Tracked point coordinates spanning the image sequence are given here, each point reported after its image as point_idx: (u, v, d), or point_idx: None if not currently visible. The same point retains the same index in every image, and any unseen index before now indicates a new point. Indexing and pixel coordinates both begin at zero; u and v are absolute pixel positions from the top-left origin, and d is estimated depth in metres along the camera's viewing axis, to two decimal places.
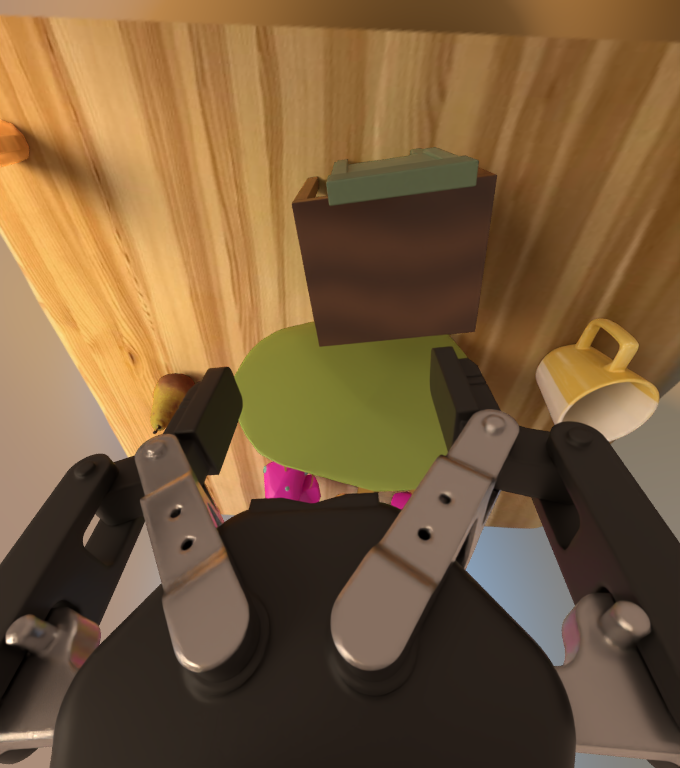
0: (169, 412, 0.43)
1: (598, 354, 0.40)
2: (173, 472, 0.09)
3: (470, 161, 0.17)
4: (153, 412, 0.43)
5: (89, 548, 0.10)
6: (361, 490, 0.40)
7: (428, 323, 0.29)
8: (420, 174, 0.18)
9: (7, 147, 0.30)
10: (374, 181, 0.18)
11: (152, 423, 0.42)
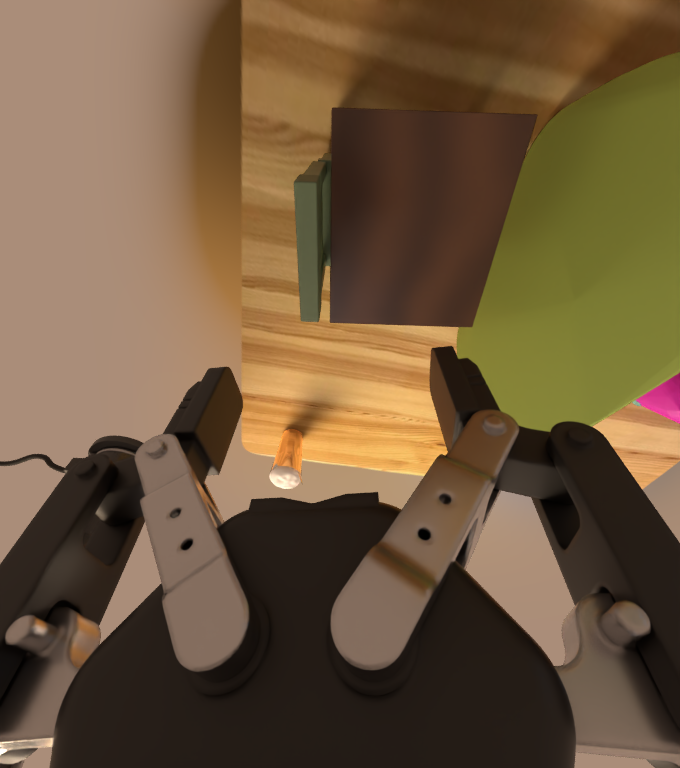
0: None
1: None
2: (173, 472, 0.09)
3: (294, 190, 0.17)
4: None
5: (89, 548, 0.10)
6: None
7: (493, 194, 0.22)
8: (301, 242, 0.19)
9: (293, 441, 0.51)
10: (303, 284, 0.20)
11: None
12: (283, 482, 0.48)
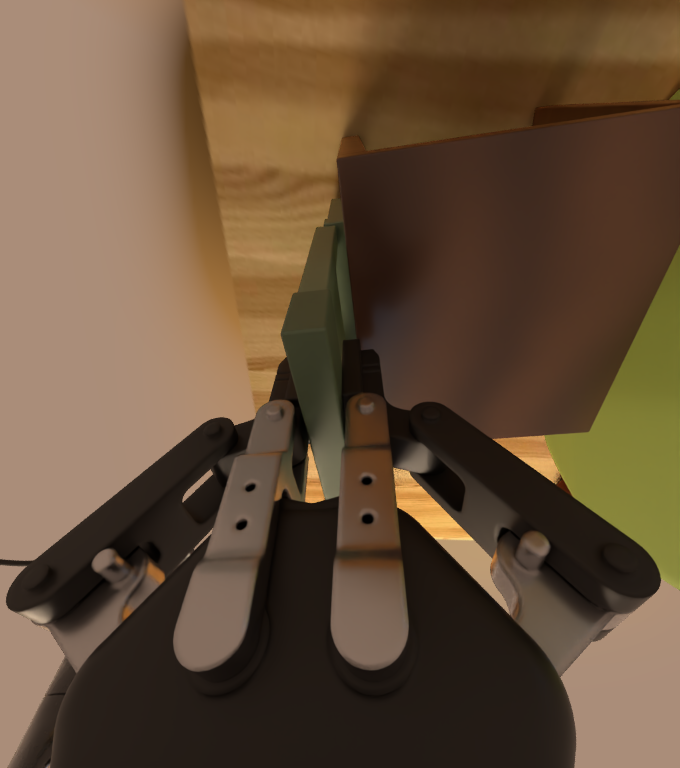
0: None
1: None
2: (274, 442, 0.09)
3: (284, 345, 0.09)
4: None
5: (197, 494, 0.11)
6: None
7: (641, 249, 0.12)
8: (311, 417, 0.10)
9: None
10: (324, 466, 0.12)
11: None
12: None
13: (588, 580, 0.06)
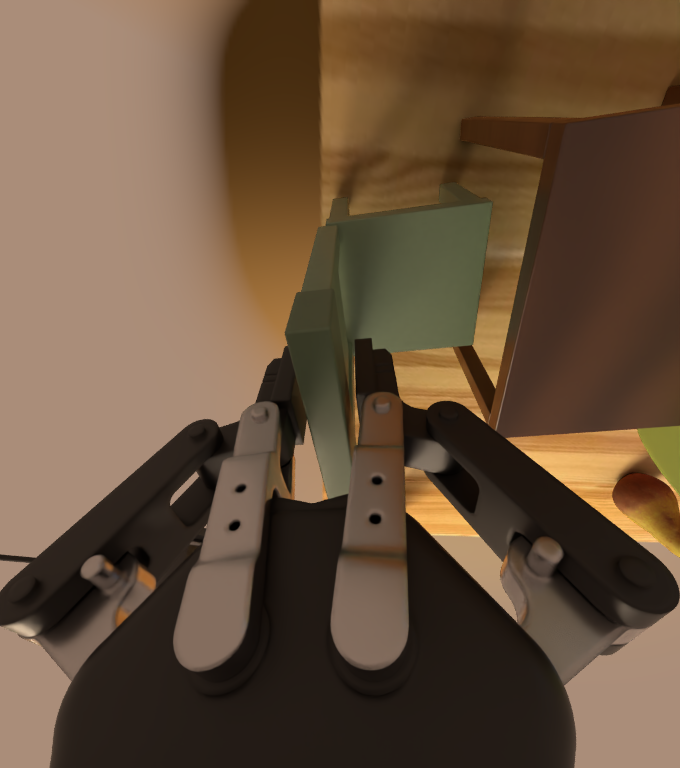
0: (677, 533, 0.34)
1: None
2: (261, 443, 0.09)
3: (288, 344, 0.09)
4: (666, 546, 0.34)
5: (183, 498, 0.11)
6: None
7: None
8: (315, 416, 0.10)
9: None
10: (327, 466, 0.12)
11: None
12: None
13: (601, 591, 0.06)
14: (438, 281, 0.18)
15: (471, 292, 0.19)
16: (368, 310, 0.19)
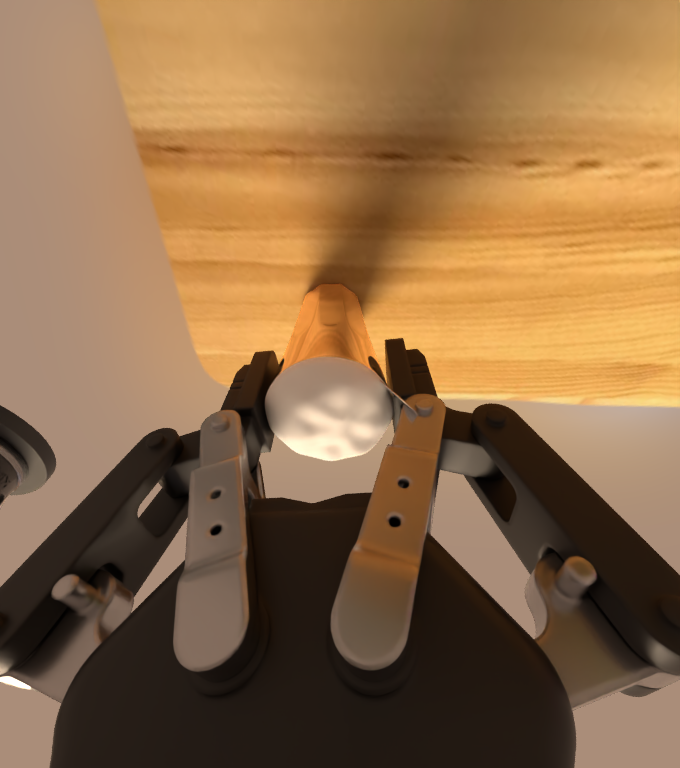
0: None
1: None
2: (227, 450, 0.09)
3: None
4: None
5: (148, 512, 0.10)
6: None
7: None
8: None
9: (337, 303, 0.15)
10: None
11: None
12: (322, 429, 0.11)
13: (633, 625, 0.06)
14: None
15: None
16: None
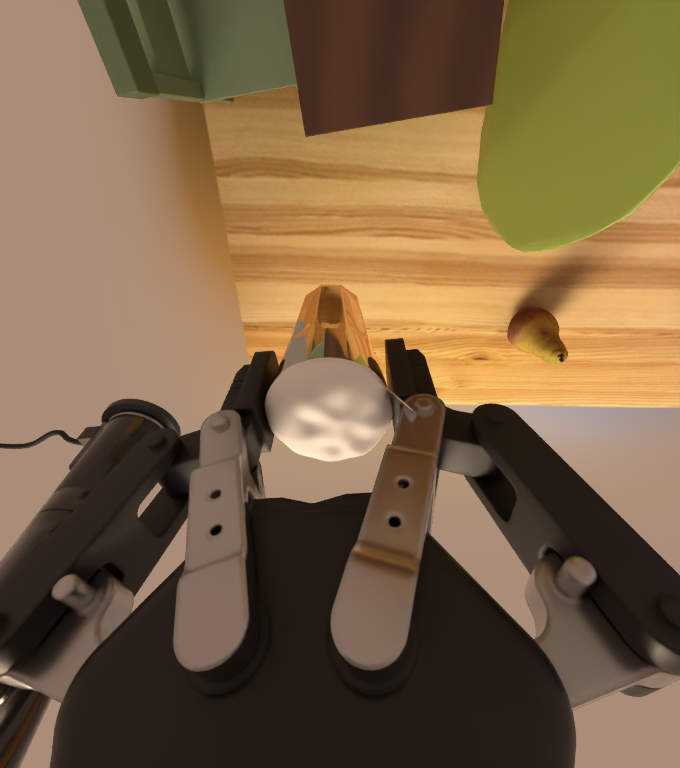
0: (549, 340, 0.37)
1: None
2: (227, 450, 0.09)
3: None
4: (542, 356, 0.38)
5: (148, 512, 0.10)
6: None
7: None
8: None
9: (337, 304, 0.15)
10: (92, 21, 0.15)
11: (553, 361, 0.36)
12: (322, 430, 0.11)
13: (633, 625, 0.06)
14: (254, 1, 0.22)
15: (284, 13, 0.22)
16: (204, 40, 0.23)
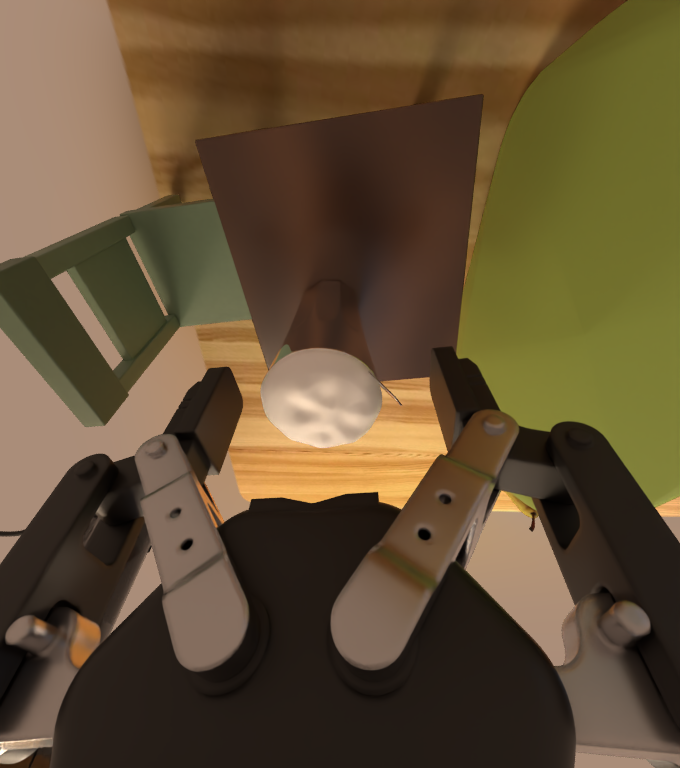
0: None
1: None
2: (173, 472, 0.09)
3: None
4: (516, 505, 0.39)
5: (89, 548, 0.10)
6: None
7: (443, 212, 0.16)
8: (21, 346, 0.15)
9: (334, 299, 0.16)
10: (58, 389, 0.16)
11: (526, 515, 0.37)
12: (314, 417, 0.12)
13: None
14: (226, 262, 0.23)
15: None
16: (179, 286, 0.24)
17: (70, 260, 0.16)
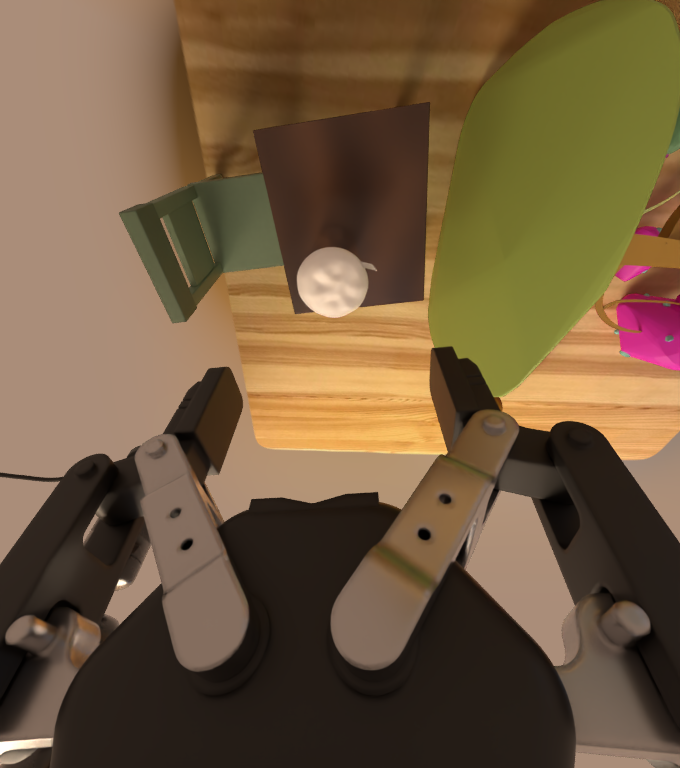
0: None
1: None
2: (173, 472, 0.09)
3: (122, 219, 0.22)
4: None
5: (89, 548, 0.10)
6: None
7: (409, 177, 0.25)
8: (144, 259, 0.23)
9: (339, 233, 0.25)
10: (160, 292, 0.25)
11: None
12: (328, 288, 0.21)
13: None
14: (260, 220, 0.31)
15: None
16: (224, 240, 0.33)
17: (167, 209, 0.25)
